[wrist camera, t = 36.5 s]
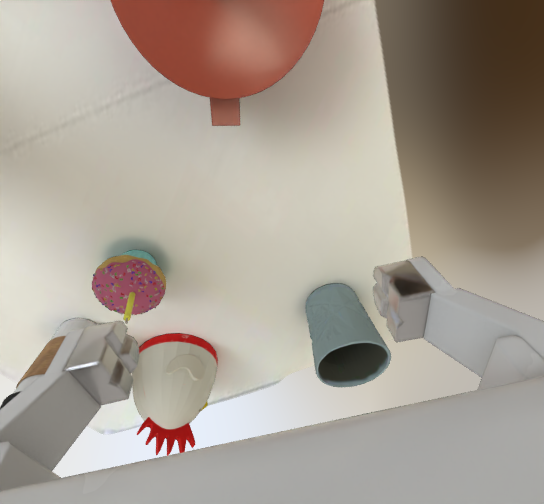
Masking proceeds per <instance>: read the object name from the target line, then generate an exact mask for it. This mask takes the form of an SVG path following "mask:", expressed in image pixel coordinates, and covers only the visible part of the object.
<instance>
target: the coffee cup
mask: <svg viewBox="0 0 544 504" xmlns="http://www.w3.org/2000/svg"><path fill="white" fill-rule="evenodd" d="M93 325H97V324H96V323H94V322H92V321H90V320H87V319H82V318H73V319H69V320H67V321H65V322H63V323H62V325H61V326H60V327H59V329H58V330H57V331H56V333H55V334H54V336H53V337H52V339H51V340H50V341H49V342H48V344H47V345H46V346H45V348H44V349H43V350H42V352H41V353H40V354H39V356H38V357H37V358H36V360H35V361H34V362H33V364H32V365H31V366H30V368H29V369H28V371H27V372H26V373H25V375H24V376H23V377H22V379H21V380H20V381H19V383H18V384H17V387H16V390H15V391H14V393H13V394H11V395H9V396H8V397H7V398H6V399H5V400H4V401H3V403H2V405H1V407H0V409H2V408H3V407H4V406H5V405H6V404H7V403H9V402H10V401H11V400H12V399H13V398H14V397H16V396H17V395H18V394H19V393H20V392H21V391H23V390H24V389H25V388H26V387H27V386H28V385H30V384H31V383H32V382H33V381H34V380H35V379H37V378H38V377H39V376H43V375H45V373H46V371H47V369H48V368H49V366H50V364H51V362H52V360H53V359H54V357H55V355H56V353H57V351H58V350H59V348H60V346H61V344H62V342H63V341H64V339H65V337H66V335H67V333H68V332H70V331H71V330H73V329H78V328H84V327H88V326H93Z"/></svg>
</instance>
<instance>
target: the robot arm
mask: <svg viewBox="0 0 544 504" xmlns="http://www.w3.org/2000/svg"><path fill="white" fill-rule="evenodd" d="M373 277H374V279H375V280H376V282H377V283H376V284H375V286H374V287H373V296H374V301H375V305H376V307H377V310H378V311H379V313H380V315H381V316H383V317H385V318H387V328H388V329H389V331H390V333H391V335H392V336H393V338H394V340H395V341H396V342H401V341H406V340H412V339H418V338H423V337H424V339H425V340H426V341H428V342H429V343H431V344H432V345H434V346H435V347H437V348H438V349H440V350H441V351H443V352H444V353H446V354H447V355H449V356H450V357H451V358H453V359H454V360H456V361H457V362H459V363H460V364H462V365H464V366H465V367H466V368H468V369H469V370H471V371H472V372H474V373H475V374H477V375H478V376H480V377H481V378H482V379H481V381H480V384H479V387H478V389H477V390H475V391H470V392H466V393H461V394H456V395H452V396H447V397H443V398H438V399H433V400H428V401H423V402H418V403H414V404H409V405H404V406H399V407H395V408H390V409H385V410H381V411H376V412H371V413H366V414H362V415H357V416H352V417H348V418H343V419H338V420H334V421H329V422H325V423H320V424H315V425H310V426H305V427H301V428H296V429H291V430H287V431H281V432H277V433H272V434H267V435H263V436H258V437H253V438H248V439H244V440H239V441H234V442H230V443H226V444H221V445H215V446H211V447H206V448H201V449H197V450H192V451H187V452H182V453H178V454H173V455H168V456H163V457H159V458H154V459H149V460H145V461H140V462H135V463H131V464H126V465H121V466H116V467H112V468H107V469H102V470H98V471H93V472H88V473H83V474H78V475H74V476H69V477H64V478H61V477H59V476H58V475H56V474H55V473H53V472H52V470H53V469H54V468H55V467H56V465H57V464H58V462H59V461H60V460H61V459H62V457H63V456H64V455H65V453H66V452H67V451H68V449H69V448H70V447H71V446H72V444H73V443H74V442H75V440H76V439H77V438H78V436H79V435H80V434H81V433H82V431H83V430H84V429H85V427H86V426H87V425H88V423H89V422H90V421H91V419H92V418H93V417H94V416H95V414H96V413H97V412H98V410H99V409H100V408H101V405H105V404H109V403H113V402H117V401H121V400H126V399H128V398H129V394H130V391H131V387H132V384H133V380H134V379H133V377H132V375H131V373H132V372H133V371H134V370H135V368H136V367H137V365H138V361H139V348H138V344H137V342H136V340H135V339H134V337H132V336H129V335H127V334H126V332H127V329H128V328H127V327H126V325H125V324H124V322H123V321H114V322H109V323H103V324H98V325H93V326H88V327H84V328H78V329H73V330H71V331H70V332H68V333H67V335H66V337H65V339H64V341H63V342H62V344H61V346H60V348H59V350H58V351H57V353H56V355H55V357H54V359H53V360H52V362H51V364H50V366H49V368H48V369H47V371H46V373H45V375H43V376H39V377H38V378H37V379H35V380H34V381H33V382H32V383H31V384H30V385H28V386H27V387H26V388H25V389H24V390H23V391H21V392H20V393H19V394H18V395H17V396H16V397H14V398H13V399H12V400H11V401H10V402H9V403H7V404H6V405H5V406H4V407H3V408H2V409H0V504H544V321H542V320H540V319H537V318H535V317H532V316H530V315H527V314H525V313H522V312H519V311H517V310H514V309H512V308H509V307H507V306H504V305H502V304H499V303H496V302H494V301H491V300H489V299H486V298H483V297H481V296H478V295H476V294H474V293H471V292H469V291H466V290H463V289H461V288H457V289H454V288H453V287H452V286H451V285H450V284H449V282H448V281H447V280H446V279H445V278H444V277H443V276H442V275H441V274H440V273H439V272H438V271H437V270H436V269H435V268H434V266H433V265H432V264H431V263H430V262H429V261H428V260H427V259H426V258H425V257H423V256H421V257H416V258H412V259H408V260H404V261H400V262H395V263H390V264H386V265H381V266H377V267H375V268H374V275H373Z"/></svg>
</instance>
